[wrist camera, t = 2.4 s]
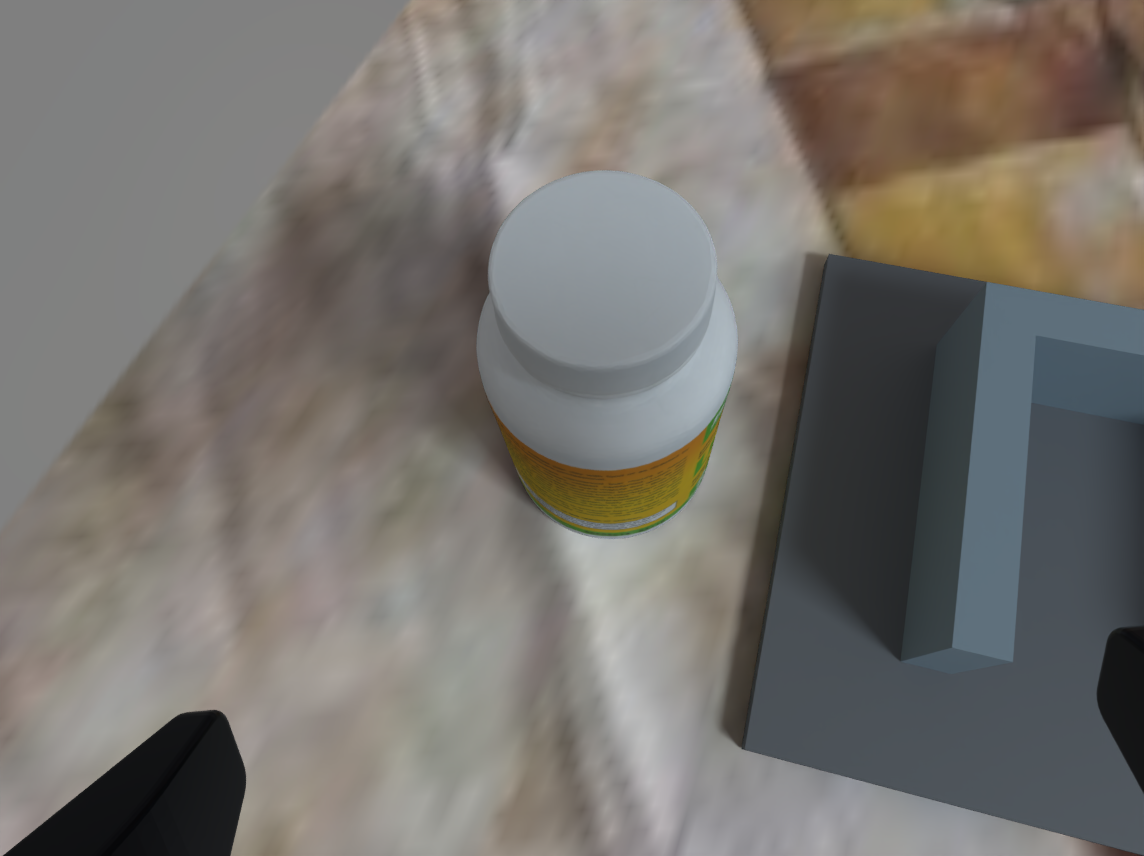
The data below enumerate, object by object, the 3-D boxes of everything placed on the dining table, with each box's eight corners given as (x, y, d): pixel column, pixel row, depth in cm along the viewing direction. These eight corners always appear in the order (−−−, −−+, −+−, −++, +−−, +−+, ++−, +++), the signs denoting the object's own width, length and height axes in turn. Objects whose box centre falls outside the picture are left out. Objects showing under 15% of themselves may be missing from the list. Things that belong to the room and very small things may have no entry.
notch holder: (1472, 942, 18) (1694, 997, 14) (741, 749, 20) (768, 752, 16) (1415, 371, 23) (1573, 299, 19) (824, 265, 25) (860, 180, 21)
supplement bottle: (722, 531, 22) (790, 388, 13) (523, 553, 22) (453, 426, 13) (692, 351, 24) (733, 118, 15) (509, 372, 24) (440, 153, 15)
